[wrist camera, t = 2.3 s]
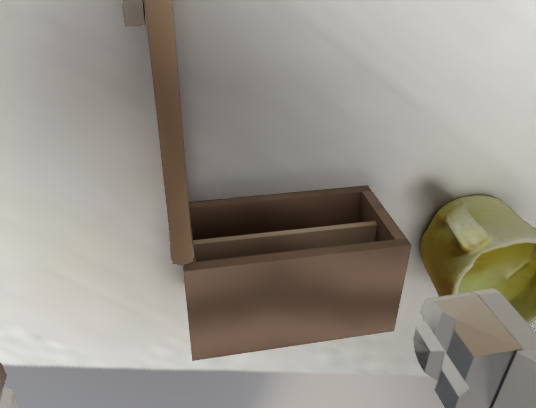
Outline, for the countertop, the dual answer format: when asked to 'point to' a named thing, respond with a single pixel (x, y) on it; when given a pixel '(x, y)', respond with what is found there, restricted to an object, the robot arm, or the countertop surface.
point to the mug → (482, 251)
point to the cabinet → (292, 270)
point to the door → (167, 117)
